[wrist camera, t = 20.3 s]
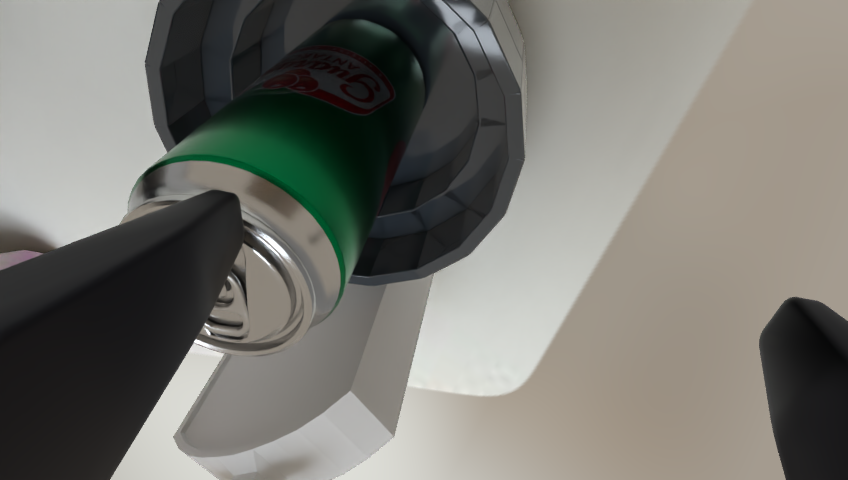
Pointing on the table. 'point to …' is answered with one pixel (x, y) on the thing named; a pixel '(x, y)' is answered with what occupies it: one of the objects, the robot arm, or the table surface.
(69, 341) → the robot arm
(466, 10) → the grey ribbed bowl
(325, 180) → the soda can
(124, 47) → the table surface
